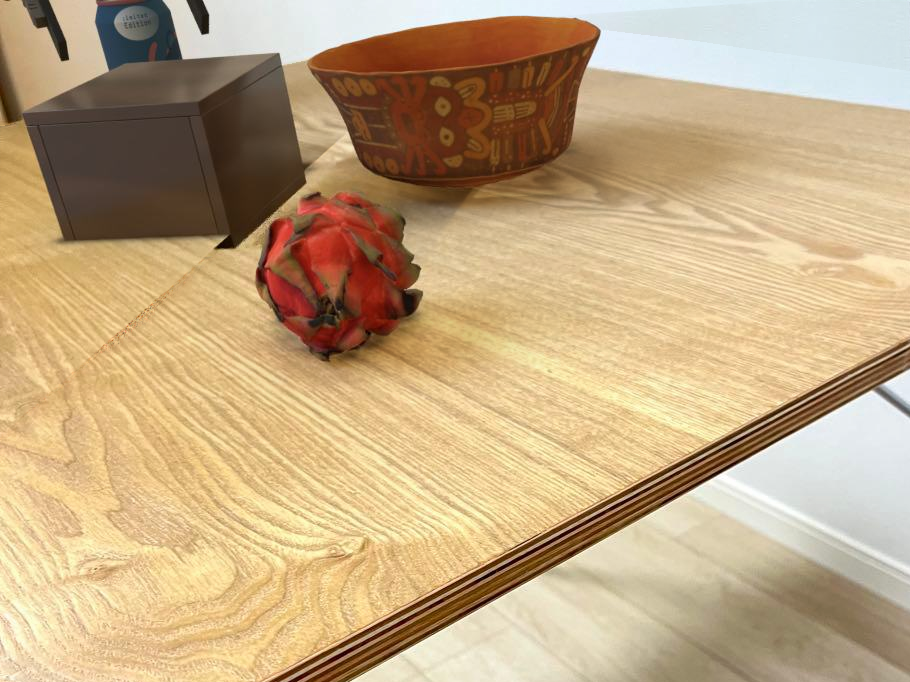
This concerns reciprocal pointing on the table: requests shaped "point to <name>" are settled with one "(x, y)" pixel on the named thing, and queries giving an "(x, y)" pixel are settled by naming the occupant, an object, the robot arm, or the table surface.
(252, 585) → the table surface
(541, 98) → the bowl
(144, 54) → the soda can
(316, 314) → the dragon fruit
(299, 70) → the table surface
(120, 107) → the cabinet
